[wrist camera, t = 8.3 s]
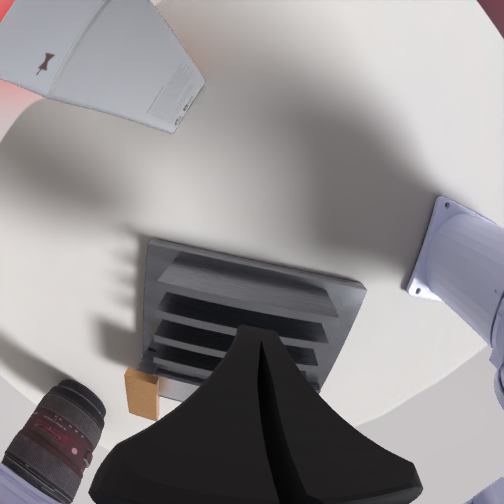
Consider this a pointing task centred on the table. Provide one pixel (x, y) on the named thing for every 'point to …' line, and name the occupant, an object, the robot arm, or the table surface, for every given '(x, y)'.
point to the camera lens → (58, 441)
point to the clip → (177, 384)
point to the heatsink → (233, 315)
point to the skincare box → (100, 58)
